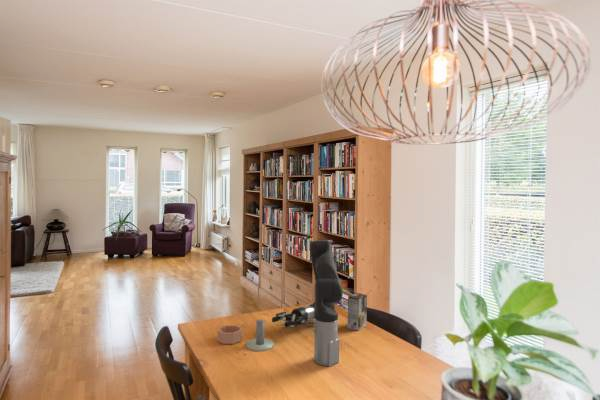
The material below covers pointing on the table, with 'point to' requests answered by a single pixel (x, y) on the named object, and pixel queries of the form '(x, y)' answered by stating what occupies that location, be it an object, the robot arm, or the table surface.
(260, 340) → the peg on round base
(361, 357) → the table surface
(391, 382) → the table surface
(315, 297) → the robot arm
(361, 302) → the coffee box
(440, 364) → the table surface
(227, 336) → the bowl
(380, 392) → the table surface
